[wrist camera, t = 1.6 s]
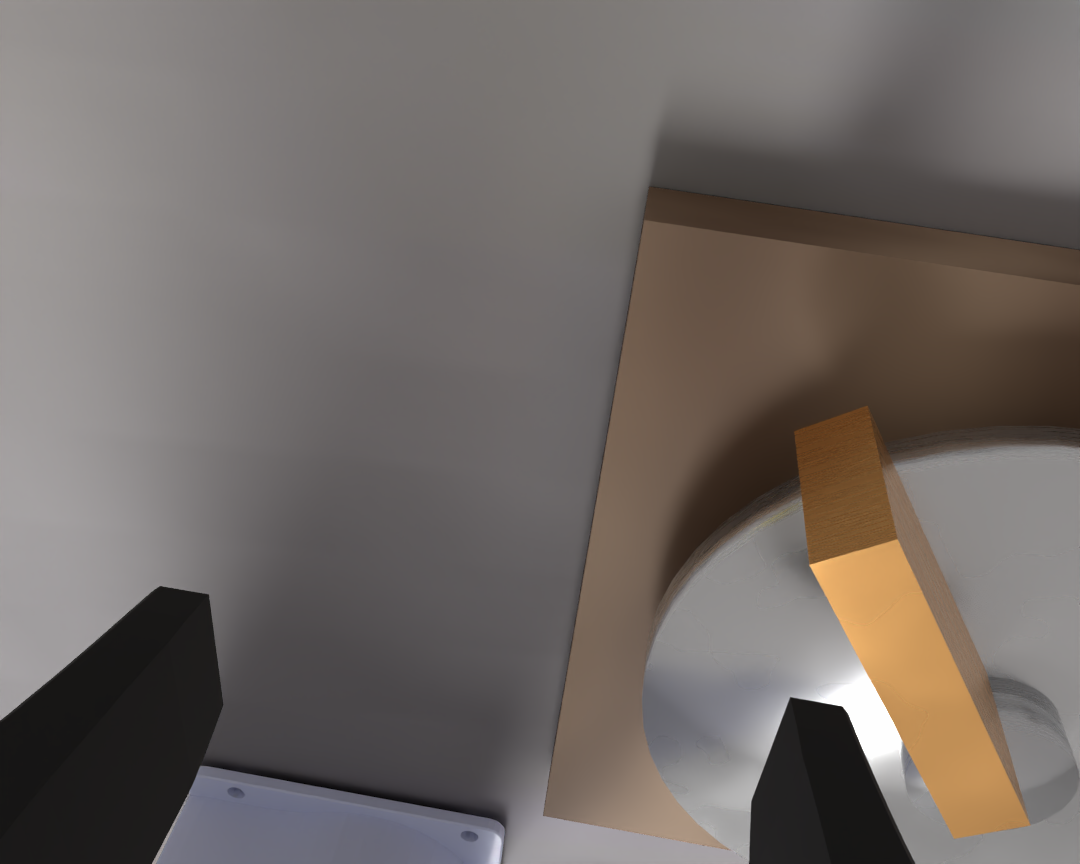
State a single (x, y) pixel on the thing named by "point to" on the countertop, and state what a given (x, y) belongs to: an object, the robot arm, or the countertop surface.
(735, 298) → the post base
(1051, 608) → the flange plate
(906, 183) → the countertop surface
